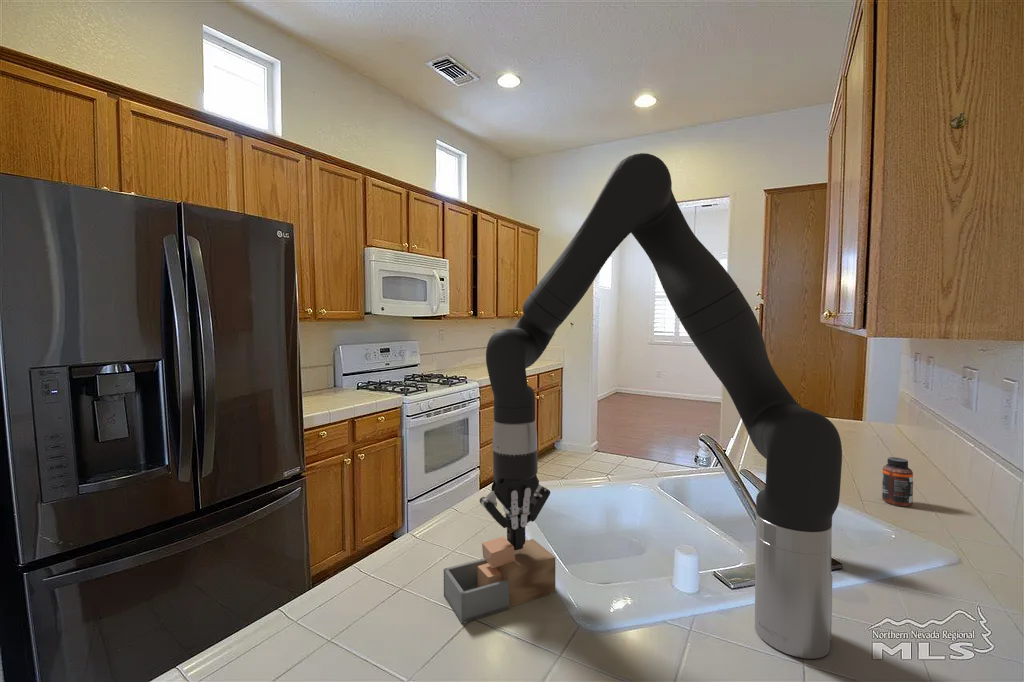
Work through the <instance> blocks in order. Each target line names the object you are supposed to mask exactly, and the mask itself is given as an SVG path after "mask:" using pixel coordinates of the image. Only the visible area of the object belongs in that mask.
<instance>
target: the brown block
mask: <svg viewBox="0 0 1024 682" xmlns="http://www.w3.org/2000/svg"><path fill="white" fill-rule="evenodd" d="M514 558H515V561H514V562H511V563H508V564H505V565H501V566H498V567H496V568H497V569H498V570H499V571H500V572H501V573H502V581H503V580H506V579H508V580H509V608H510V607H513V606H517V605H520V604H523V603H526V602H530V601H532V600H535V599H538V598H543V597H544V596H548V595H551V593H552V594H554V592H555V593H556V555H553V553H552V552H550V551H549V550H547V548H545V547H543V545H541V544H540V543H539V542H537V540H535V539H534V538H531V539H527V540H526V539H525V544H524V545H523V548H522V549H519V550H514Z"/></svg>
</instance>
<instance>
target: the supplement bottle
mask: <svg viewBox="0 0 1024 682" xmlns="http://www.w3.org/2000/svg"><path fill="white" fill-rule="evenodd" d="M886 462H887V463H886V464H885V465H884V466H883V467H882V478H881V479H882V486H881V489H882V491H881V493H882V494H881V496H882V498H881V499H882V500H883V501H884V502H885V503H887V504H890V505H894V506H897V507H911V506H913V500H914V499H913V497H914V494H913V493H914V472H913V470H912V469H911V468H909V461H908V459H906V458H902V457H895V456H890V457H887V461H886Z"/></svg>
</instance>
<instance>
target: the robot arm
mask: <svg viewBox="0 0 1024 682" xmlns="http://www.w3.org/2000/svg"><path fill="white" fill-rule="evenodd" d="M672 189H673V187H672V176H671V173H670V170H669V168H668V167H667V165H666V164H665V162H664V161H663V160H662V159H661V158H660V157H658V156H656V155H654V154H650V153H647V152H646V153H644V152H641V153H636V154H635V153H634V154H631V155H628V156H627V157H625V158H623V159H622V160H621V161H620V162H618V163H617V164H616V165H615V166H614V168H613V169H612V171H611V172H610V174H609V176H608V178H607V180H606V181H605V184H604V186H603V187H602V189H601V191H600V193H599V195H598V196H597V198H596V200H595V202H594V203H593V206H592V207H591V209H590V211H589V213H588V214H587V216H586V218H585V219H584V221H583V222H582V224H581V225H580V227H579V228H578V230H577V231H576V233H575V234H574V236H573V237H572V239H571V240H570V242H569V243H568V244H567V246H566V247H565V248H564V250H563V251H562V252H561V253H560V255H559V256H558V258H557V259H556V260H555V262H553V264H552V265H551V266H550V268H549V269H548V270H547V272H546V273H545V274H544V276H543V277H542V278H541V279H540V280H539V282H538V283H537V285H536V286H535V288H534V289H532V291H531V292H530V294H529V295H528V296H527V298H526V299H525V301H524V303H523V306H522V312H523V314H522V316H521V317H520V319H519V320H518V322H517V323H516V325H514V327H513V328H503V329H500V330H497V331H496V332H494V333H493V334H492V335H491V336H490V338H489V340H488V342H487V345H486V351H485V363H486V370H487V373H488V378H489V383H490V387H491V390H492V393H493V428H492V429H493V430H492V442H491V446H492V473H493V482H492V484H491V486H490V487H491V491H490V492H489V493H488V495H486V496H481V497H480V498H479V503H480V505H481V506H482V507H483V508H484V509H485V510H486V511H487V513H488V514H489V515H490V516H491V517H492V519H493V520H494V521H495V523H497V524H498V525H500V526H501V527H502V528H503V529H506V539H507V540H508V541H509V542H510V543H511V544H512V545H513V546H514V550H519V549H522V548H523V545H524V544H525V541H526V526H527V525H528V523H529V522H530V523H531V522H532V523H533V522H535V521H536V520H537V518H538V516H539V515H540V512H542V509H543V507H544V505H545V504H546V502H547V500H548V498H549V496H550V495H551V491H550V489H548V488H547V487H546V486H543V485H541V484H540V480H539V478H538V476H537V474H538V471H539V470H538V431H537V424H536V397H535V396H536V395H535V392H534V391H535V390H534V389H533V388H532V387H531V386H529V385H528V379H527V370H526V369H528V368H530V367H531V366H533V365H534V364H535V362H537V361H538V360H539V358H540V357H541V356H542V355H543V353H544V351H546V349H547V347H548V346H549V344H550V342H551V341H552V340H553V339H552V338H553V337H554V334H555V332H556V331H557V330H558V328H559V327H560V326H561V325H562V324H563V322H564V321H565V320H566V319H567V318H568V316H569V315H570V314H571V313H572V311H573V310H574V309H575V308H576V307H577V305H578V304H579V303H580V301H582V299H583V298H584V296H585V295H586V293H587V291H589V289H590V287H591V286H592V284H593V283H594V281H595V279H596V278H597V276H598V275H599V273H600V271H601V270H602V268H603V267H604V265H605V264H606V262H607V261H608V259H609V258H610V257H611V255H612V254H613V253H614V252H615V251H616V249H617V248H618V247H619V246H620V244H622V242H623V241H624V240H625V239H626V238H627V237H628V236H629V235H630V234H631V235H632V236H633V237H634V239H635V240H636V242H637V243H638V244H639V245H640V247H641V248H642V250H643V251H644V253H646V255H647V256H648V258H649V260H650V263H651V264H652V265H653V268H654V269H655V273H656V275H657V278H658V280H659V282H660V285H661V287H662V289H663V291H664V293H665V295H666V298H667V299H668V301H669V303H670V306H671V308H672V309H673V311H674V313H675V315H676V316H677V318H678V319H679V322H680V323H681V325H682V327H683V329H685V331H686V333H687V335H688V337H689V338H690V340H691V342H692V343H693V344H694V345H695V347H696V349H697V350H698V351H699V353H700V354H701V356H702V358H703V360H704V361H706V364H707V365H708V366H709V367H710V369H711V370H712V372H713V373H714V375H715V376H716V377H717V379H718V380H719V381H720V382H721V384H722V385H723V387H724V388H725V390H726V391H727V394H728V395H729V396H730V398H731V400H732V403H733V404H734V406H735V409H736V410H737V412H738V415H739V416H740V418H741V421H742V424H743V426H744V428H745V429H746V432H747V434H748V436H749V439H750V441H751V443H752V445H753V447H754V448H755V449H756V451H757V452H758V454H760V455H761V456H762V457H763V458H764V459H765V460H766V465H765V467H766V471H765V486H764V489H762V490H760V491H758V493H757V494H756V498H755V499H756V500H755V567H754V568H755V569H754V571H755V572H754V573H755V575H754V580H755V581H754V582H755V586H754V630H755V631H756V633H757V635H758V636H759V637H760V638H761V639H762V641H764V643H767V644H768V645H770V646H771V647H772V648H774V649H775V650H778V651H780V652H782V653H784V654H787V655H790V656H793V657H797V658H801V659H820V658H824V657H825V656H827V655H828V654H829V653H830V648H831V640H832V624H833V622H832V621H833V620H832V619H833V614H832V613H833V575H832V552H833V551H832V541H833V540H832V536H833V527H832V526H833V517H834V516H833V515H834V513H835V512H836V510H837V508H838V506H839V503H840V497H841V483H842V482H841V480H842V469H843V467H842V466H843V465H842V463H843V448H842V447H843V446H842V445H843V444H842V441H841V436H840V433H839V430H838V429H837V428H836V426H835V425H834V423H833V422H832V421H831V420H830V419H828V418H827V417H825V416H824V415H823V414H821V413H818V412H815V411H813V410H810V409H808V408H805V407H802V406H801V404H800V403H798V402H797V400H796V399H795V398H794V397H793V395H792V394H791V393H790V392H789V390H788V389H787V388H786V386H785V384H784V382H782V380H781V379H780V378H779V376H778V375H777V373H776V371H775V370H774V368H773V366H772V364H771V361H770V359H769V356H768V351H767V348H766V345H765V341H764V337H763V333H762V330H761V327H760V324H759V322H758V319H757V317H756V315H755V313H754V311H753V309H752V307H751V306H750V304H749V302H748V300H747V299H746V298H745V296H744V294H743V293H742V291H741V290H740V288H739V286H738V285H737V283H736V282H735V280H734V279H733V278H732V277H731V275H730V273H729V272H728V271H727V270H726V269H725V267H724V266H723V265H722V264H721V263H720V261H719V260H718V259H717V258H716V257H715V256H714V255H713V254H712V253H711V252H710V251H709V250H708V249H707V248H706V247H705V246H704V244H703V243H702V242H701V241H700V240H699V238H698V237H697V236H696V235H695V233H694V232H693V230H692V229H691V226H690V225H689V224H688V222H687V220H686V218H685V216H684V214H683V212H682V210H681V208H680V206H679V204H678V202H677V200H676V198H675V196H674V193H673V191H672ZM497 500H498V502H500V503H501V505H502V510H503V511H504V515H503V514H502V513H501V512H500V511H499V509H498V508H497V506H498V502H497Z"/></svg>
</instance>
